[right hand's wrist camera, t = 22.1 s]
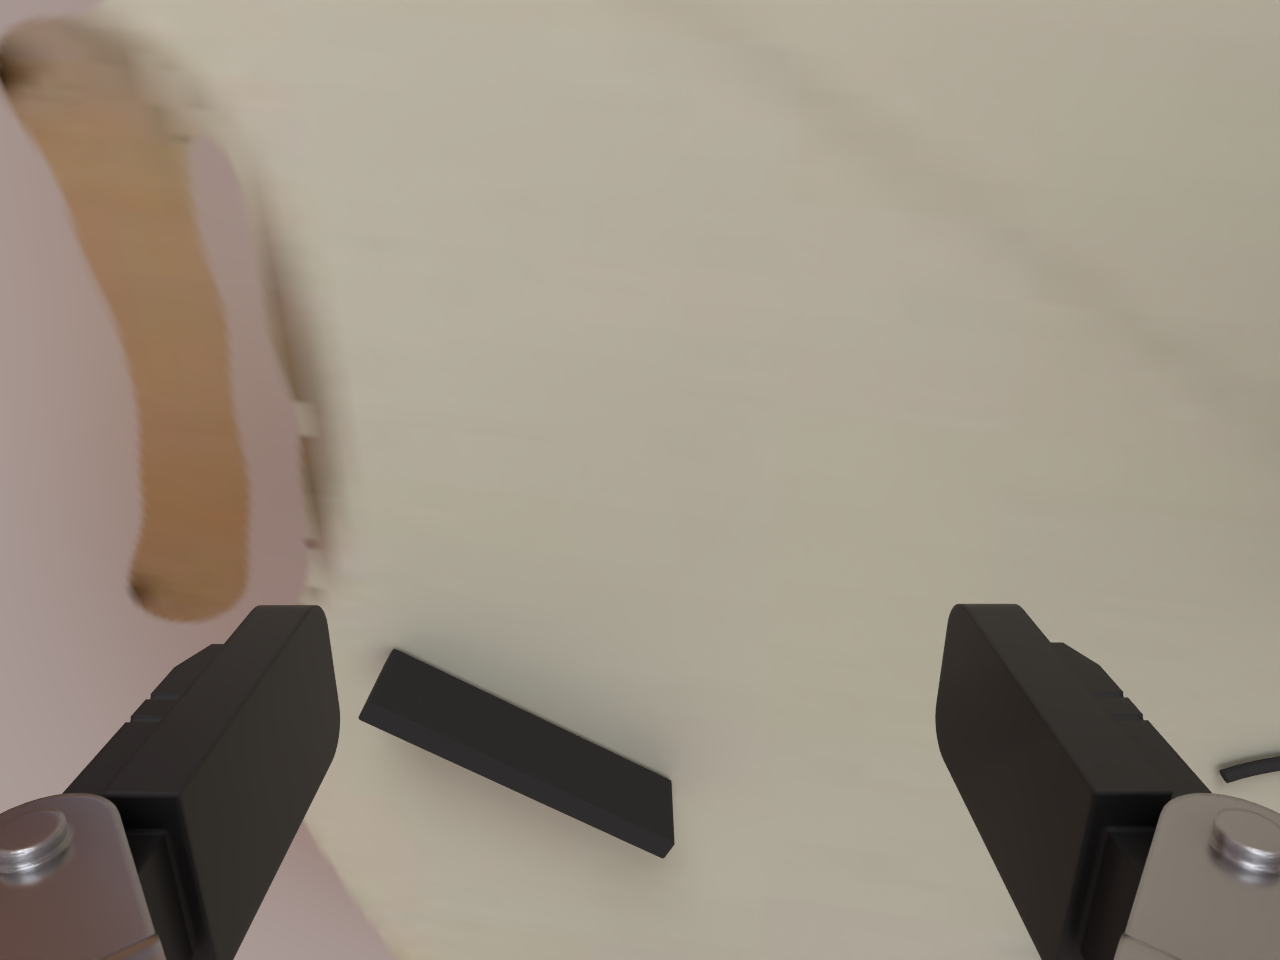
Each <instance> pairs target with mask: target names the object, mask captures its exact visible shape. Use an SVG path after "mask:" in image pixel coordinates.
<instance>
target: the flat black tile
mask: <svg viewBox="0 0 1280 960" xmlns="http://www.w3.org/2000/svg"><path fill="white" fill-rule="evenodd" d="M359 720H361V721H363V722H366V723H368V724H370V725H372V726H374V727H377V728H379V729H381V730H383V731H385V732H388V733H390V734H392V735H394V736H396V737H398V738H401V739H403V740H405V741H407V742H409V743H412V744H414V745H416V746H418V747H420V748H422V749H425V750H427V751H429V752H431V753H433V754H436V755H438V756H440V757H442V758H444V759H446V760H449V761H451V762H453V763H455V764H457V765H460V766H462V767H464V768H466V769H468V770H471V771H473V772H475V773H477V774H479V775H481V776H484V777H486V778H488V779H490V780H492V781H495V782H497V783H499V784H501V785H503V786H505V787H508V788H510V789H512V790H514V791H516V792H519V793H521V794H523V795H525V796H527V797H529V798H532V799H534V800H536V801H538V802H540V803H543V804H545V805H547V806H549V807H551V808H553V809H556V810H558V811H560V812H562V813H564V814H567V815H569V816H571V817H573V818H575V819H578V820H580V821H582V822H584V823H586V824H588V825H591V826H593V827H595V828H597V829H599V830H602V831H604V832H606V833H608V834H610V835H612V836H615V837H617V838H619V839H621V840H623V841H626V842H628V843H630V844H632V845H634V846H636V847H639V848H641V849H643V850H645V851H647V852H650V853H652V854H654V855H656V856H658V857H660V858H665V856H666V855H667V854H668V852H669V851H670V850H671V848H672V847H673V846H674V825H673V804H672V784H671V780H669V779H667V778H664V777H662V776H660V775H658V774H656V773H654V772H652V771H650V770H648V769H646V768H644V767H641V766H639V765H637V764H635V763H633V762H631V761H629V760H627V759H625V758H623V757H620V756H618V755H616V754H614V753H612V752H610V751H608V750H606V749H604V748H602V747H599V746H597V745H595V744H593V743H591V742H589V741H587V740H585V739H583V738H581V737H579V736H576V735H574V734H572V733H570V732H568V731H566V730H564V729H562V728H560V727H558V726H555V725H553V724H551V723H549V722H547V721H545V720H543V719H541V718H539V717H537V716H534V715H532V714H530V713H528V712H526V711H524V710H522V709H520V708H518V707H516V706H514V705H511V704H509V703H507V702H505V701H503V700H501V699H499V698H497V697H495V696H493V695H490V694H488V693H486V692H484V691H482V690H480V689H478V688H476V687H474V686H472V685H469V684H467V683H465V682H463V681H461V680H459V679H457V678H455V677H453V676H451V675H449V674H446V673H444V672H442V671H440V670H438V669H436V668H434V667H432V666H430V665H428V664H425V663H423V662H421V661H419V660H417V659H415V658H413V657H411V656H409V655H407V654H404V653H402V652H400V651H398V650H396V649H393V650H392V652H391V654H390V655H389V657H388V659H387V661H386V663H385V664H384V666H383V669H382V671H381V673H380V675H379V677H378V679H377V681H376V683H375V685H374V687H373V689H372V691H371V693H370V695H369V697H368V699H367V701H366V703H365V705H364V707H363V709H362V711H361V713H360V715H359Z"/></svg>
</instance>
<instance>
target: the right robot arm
mask: <svg viewBox="0 0 1280 960" xmlns="http://www.w3.org/2000/svg"><path fill="white" fill-rule="evenodd" d="M339 730H340V709H339V701H338V694H337V687H336V680H335V673H334V666H333V659H332V652H331V645H330V638H329V631H328V624H327V619H326V616H325V613H324V611H323V610H322V608H321V607H320V606H317V605H260V606H257V607H255V608H254V609H253V610H252V611H251V612H250V613H249V615H248V616H247V617H246V618H245V619H244V621H243V622H242V623H241V624H240V625H239V627H238V628H237V629H236V630H235V631H234V633H233V634H232V635H231V636H230V637H229V639H228V640H227V641H226V642H225V643H224V644H211V645H210V646H208V647H206V648H205V649H203V650H202V651H200V652H198V653H197V654H195V655H194V656H192V657H190V658H189V659H187V660H185V661H184V662H182V663H181V664H179V665H177V666H176V667H174V669H173V670H172V671H171V672H170V673H169V674H168V675H167V676H166V678H165V679H164V680H163V681H162V682H161V683H160V684H159V685H158V687H157V688H156V689H155V690H154V691H153V692H152V693H151V698H150V699H148V700H147V699H146V700H145V701H144V702H143V703H142V705H141V706H140V707H139V708H138V709H137V710H136V711H135V712H134V714H133V715H132V716H131V721H130V722H126V723H125V724H124V725H123V726H122V727H121V728H120V729H119V731H118V732H117V733H116V734H115V735H114V736H113V737H112V738H111V739H110V741H109V742H108V743H107V744H106V745H105V746H104V747H103V748H102V750H101V751H100V752H99V753H98V754H97V755H96V756H95V757H94V759H93V760H92V761H91V762H90V763H89V764H88V765H87V766H86V768H85V769H84V770H83V771H82V772H81V773H80V774H79V775H78V777H77V778H76V779H75V780H74V781H73V782H72V783H71V784H70V786H69V787H68V788H67V789H66V790H65V791H64V792H63V794H60V795H53V796H49V797H44V798H40V799H37V800H33V801H30V802H27V803H24V804H22V805H19V806H17V807H14V808H11V809H9V810H7V811H5V812H3V813H1V814H0V960H233V959H234V957H235V955H236V953H237V951H238V949H239V947H240V945H241V943H242V941H243V939H244V937H245V935H246V933H247V931H248V929H249V927H250V925H251V923H252V921H253V919H254V917H255V915H256V913H257V911H258V909H259V907H260V905H261V903H262V901H263V899H264V897H265V895H266V893H267V891H268V889H269V887H270V885H271V883H272V881H273V879H274V877H275V875H276V873H277V871H278V869H279V867H280V865H281V863H282V861H283V859H284V857H285V855H286V853H287V851H288V849H289V847H290V845H291V843H292V841H293V838H294V837H295V835H296V833H297V831H298V829H299V827H300V825H301V823H302V821H303V819H304V817H305V815H306V813H307V811H308V809H309V807H310V805H311V803H312V801H313V799H314V797H315V794H316V792H317V790H318V788H319V786H320V784H321V782H322V780H323V778H324V776H325V774H326V772H327V770H328V768H329V766H330V764H331V762H332V760H333V758H334V755H335V752H336V748H337V744H338V738H339ZM936 733H937V739H938V744H939V748H940V752H941V755H942V757H943V760H944V762H945V764H946V766H947V768H948V770H949V772H950V774H951V776H952V778H953V780H954V782H955V784H956V786H957V788H958V790H959V792H960V794H961V796H962V798H963V800H964V803H965V805H966V807H967V809H968V811H969V813H970V815H971V817H972V819H973V821H974V823H975V825H976V827H977V829H978V831H979V833H980V835H981V837H982V839H983V841H984V843H985V845H986V847H987V849H988V851H989V853H990V855H991V857H992V859H993V861H994V863H995V865H996V867H997V870H998V872H999V874H1000V876H1001V878H1002V880H1003V882H1004V884H1005V886H1006V888H1007V890H1008V892H1009V894H1010V896H1011V898H1012V900H1013V902H1014V904H1015V906H1016V908H1017V910H1018V912H1019V914H1020V916H1021V918H1022V920H1023V922H1024V924H1025V926H1026V928H1027V930H1028V932H1029V935H1030V937H1031V939H1032V941H1033V943H1034V945H1035V947H1036V949H1037V951H1038V953H1039V955H1040V957H1041V959H1042V960H1280V814H1279V813H1277V812H1275V811H1273V810H1271V809H1269V808H1266V807H1263V806H1261V805H1258V804H1256V803H1253V802H1250V801H1247V800H1243V799H1240V798H1236V797H1231V796H1227V795H1220V794H1213V793H1211V791H1210V790H1209V789H1208V788H1207V787H1206V786H1205V785H1204V783H1203V782H1202V781H1201V780H1200V779H1199V778H1198V777H1197V775H1196V774H1195V773H1194V772H1193V771H1192V770H1191V769H1190V768H1189V766H1188V765H1187V764H1186V763H1185V762H1184V761H1183V760H1182V758H1181V757H1180V756H1179V755H1178V754H1177V753H1176V752H1175V751H1174V749H1173V748H1172V747H1171V746H1170V745H1169V744H1168V743H1167V741H1166V740H1165V739H1164V738H1163V737H1162V736H1161V735H1160V733H1159V732H1158V731H1157V730H1156V729H1155V728H1154V727H1153V726H1152V724H1151V723H1150V722H1149V721H1148V720H1143V714H1142V713H1141V712H1140V711H1139V710H1138V708H1137V707H1136V706H1135V705H1134V704H1133V703H1132V702H1131V701H1130V699H1129V698H1124V697H1123V691H1122V690H1121V689H1120V688H1119V687H1118V686H1117V685H1116V683H1115V682H1114V681H1113V680H1112V679H1111V678H1110V677H1109V676H1108V674H1107V673H1106V672H1105V671H1104V670H1103V669H1102V668H1101V666H1100V665H1098V664H1096V663H1095V662H1093V661H1092V660H1090V659H1088V658H1087V657H1085V656H1084V655H1082V654H1080V653H1079V652H1077V651H1076V650H1074V649H1072V648H1071V647H1069V646H1068V645H1066V644H1064V643H1050V641H1049V640H1048V639H1047V638H1046V636H1045V635H1044V634H1043V633H1042V632H1041V630H1040V629H1039V628H1038V627H1037V626H1036V624H1035V623H1034V622H1033V621H1032V619H1031V618H1030V617H1029V616H1028V615H1027V613H1026V612H1025V611H1024V610H1023V609H1022V608H1021V607H1020V606H1019V605H1017V604H957V605H955V606H954V607H953V609H952V610H951V613H950V615H949V619H948V624H947V632H946V639H945V646H944V653H943V660H942V667H941V675H940V682H939V689H938V696H937V703H936ZM1275 771H1280V756H1279V757H1273V758H1268V759H1262V760H1257V761H1252V762H1248V763H1244V764H1240V765H1236V766H1232V767H1229V768H1226V769H1223V770H1220V774H1221V776H1222V777H1223V779H1224V780H1225V781H1226V782H1227V783H1229V782H1232V781H1236V780H1239V779H1242V778H1246V777H1250V776H1254V775H1259V774H1264V773H1270V772H1275Z"/></svg>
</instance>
